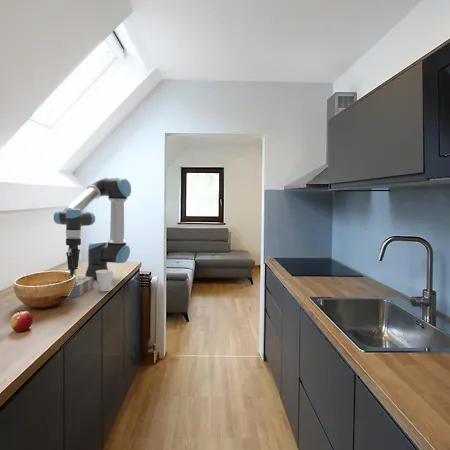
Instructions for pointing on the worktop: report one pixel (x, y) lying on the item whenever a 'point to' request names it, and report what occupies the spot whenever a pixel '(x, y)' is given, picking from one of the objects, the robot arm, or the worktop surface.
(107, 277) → the cup
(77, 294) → the block
